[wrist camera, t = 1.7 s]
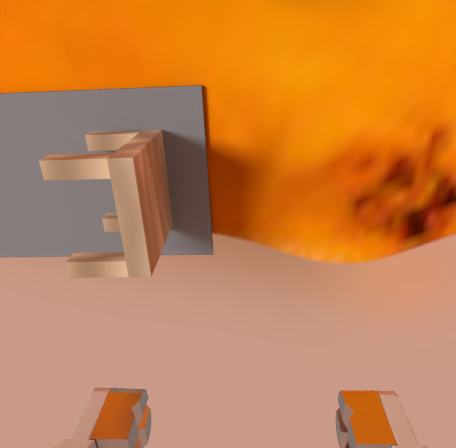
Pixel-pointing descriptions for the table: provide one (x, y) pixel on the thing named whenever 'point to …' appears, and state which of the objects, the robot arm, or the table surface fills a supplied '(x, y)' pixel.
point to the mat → (97, 188)
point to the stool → (122, 199)
